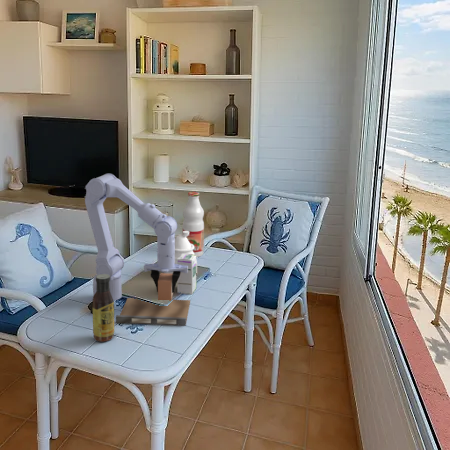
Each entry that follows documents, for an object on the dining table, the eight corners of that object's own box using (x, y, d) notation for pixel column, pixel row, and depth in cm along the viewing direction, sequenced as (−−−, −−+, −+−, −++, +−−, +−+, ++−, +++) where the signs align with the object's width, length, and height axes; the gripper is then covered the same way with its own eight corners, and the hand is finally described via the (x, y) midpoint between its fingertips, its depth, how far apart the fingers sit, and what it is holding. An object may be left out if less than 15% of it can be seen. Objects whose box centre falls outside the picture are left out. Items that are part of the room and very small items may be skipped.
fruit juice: (207, 253, 221) (209, 192, 213) (193, 259, 214) (194, 196, 206) (192, 248, 227) (193, 189, 218) (177, 254, 220) (178, 192, 211)
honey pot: (200, 269, 203) (201, 227, 198) (192, 282, 191) (193, 237, 186) (169, 266, 205) (169, 225, 200) (160, 278, 193) (160, 234, 188)
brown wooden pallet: (116, 326, 156) (115, 316, 155) (127, 301, 174) (127, 292, 173) (185, 329, 156) (185, 319, 155) (190, 303, 173) (190, 294, 172)
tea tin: (158, 300, 165) (157, 280, 163) (160, 291, 171) (160, 273, 169) (171, 300, 165) (171, 281, 163) (173, 292, 171) (173, 273, 169)
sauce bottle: (103, 345, 146) (101, 283, 140) (88, 338, 149) (85, 277, 143) (119, 335, 151) (117, 275, 145) (104, 330, 154) (102, 270, 148)
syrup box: (192, 297, 178) (193, 260, 174) (176, 295, 179) (176, 258, 175) (196, 291, 183) (197, 254, 179) (181, 289, 184) (181, 252, 180)
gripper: (142, 257, 160) (142, 295, 164) (186, 258, 160) (186, 297, 164) (145, 249, 167) (146, 286, 171) (188, 251, 167) (188, 288, 171)
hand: (165, 291), depth 168 cm, fingers closed on tea tin, 4 cm apart
